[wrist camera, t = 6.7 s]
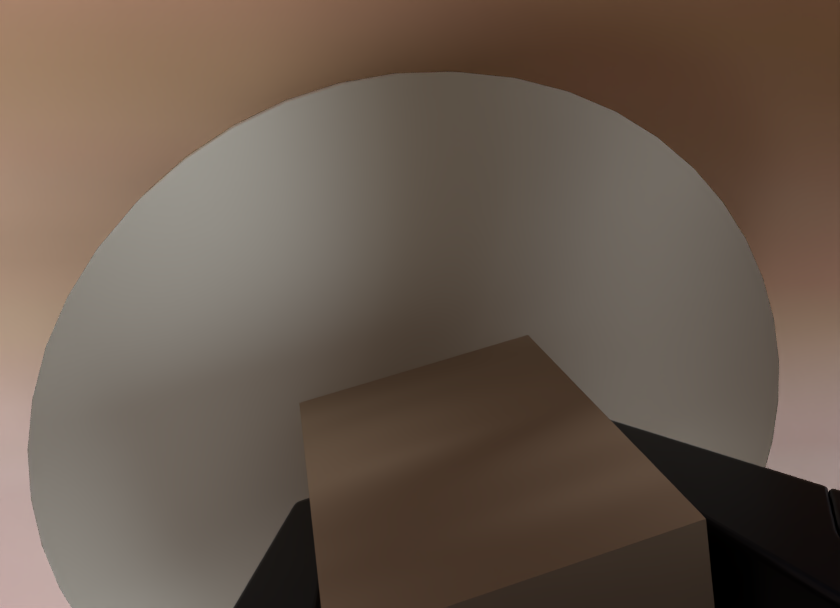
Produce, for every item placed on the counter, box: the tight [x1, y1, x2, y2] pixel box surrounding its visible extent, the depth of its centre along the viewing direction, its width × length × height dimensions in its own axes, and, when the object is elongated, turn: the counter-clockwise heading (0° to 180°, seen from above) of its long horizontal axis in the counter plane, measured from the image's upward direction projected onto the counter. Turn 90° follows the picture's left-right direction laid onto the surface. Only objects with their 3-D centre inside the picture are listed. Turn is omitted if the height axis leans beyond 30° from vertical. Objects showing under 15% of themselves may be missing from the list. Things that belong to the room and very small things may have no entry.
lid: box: [28, 71, 779, 608], centre depth 8 cm, size 10×10×5 cm
